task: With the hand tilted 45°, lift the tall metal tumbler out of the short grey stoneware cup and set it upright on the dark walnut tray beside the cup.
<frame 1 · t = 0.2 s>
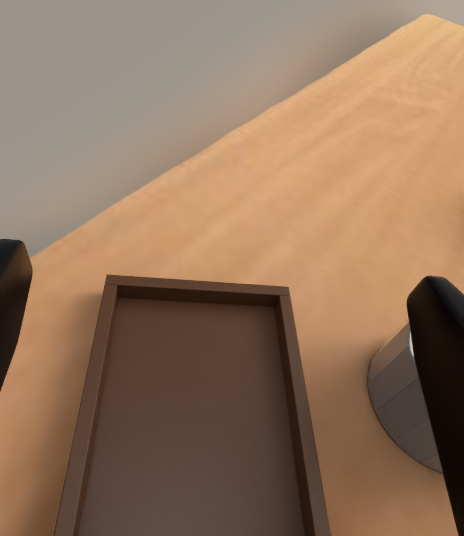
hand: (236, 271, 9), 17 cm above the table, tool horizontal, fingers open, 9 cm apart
cup: (433, 400, 26), on the table
tray: (196, 411, 23), on the table
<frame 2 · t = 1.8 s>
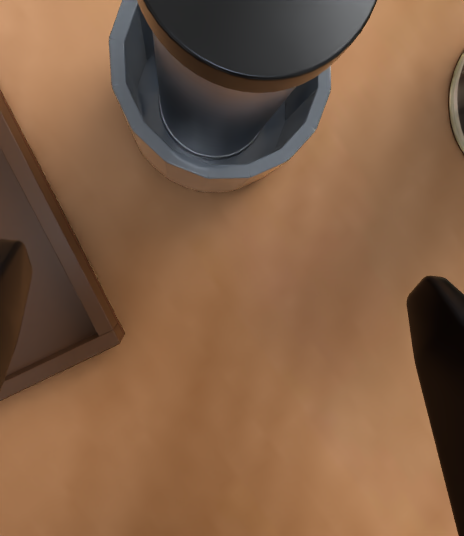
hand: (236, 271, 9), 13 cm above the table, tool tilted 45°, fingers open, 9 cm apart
metal tumbler: (213, 105, 21), resting on cup
cup: (212, 108, 21), on the table
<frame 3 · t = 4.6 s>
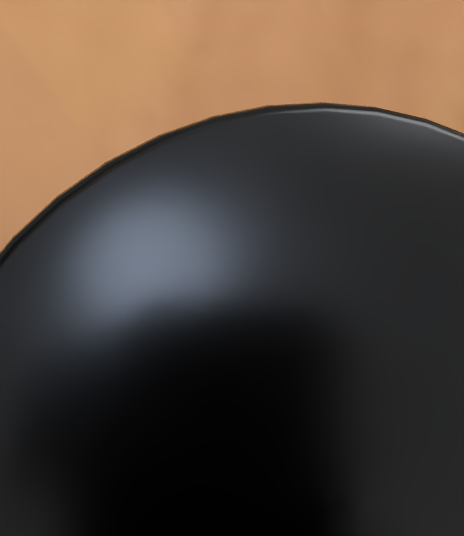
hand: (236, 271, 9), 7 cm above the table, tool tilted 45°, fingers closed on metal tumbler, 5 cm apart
metal tumbler: (207, 291, 15), resting on cup, touching gripper
when the fingers open (7 cm above the table, at t = 12.3 s): metal tumbler stays where it is, resting on tray.
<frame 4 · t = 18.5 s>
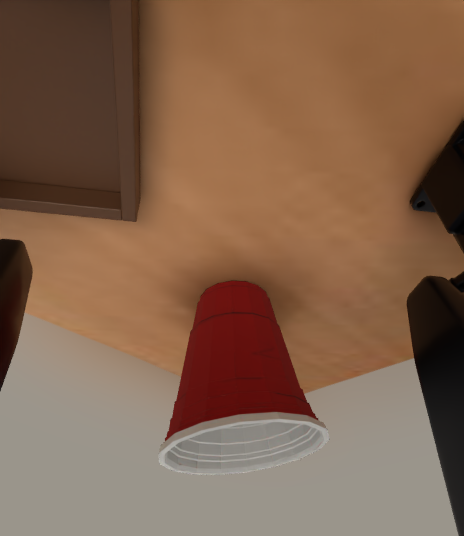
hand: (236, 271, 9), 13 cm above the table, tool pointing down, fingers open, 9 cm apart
plastic cup: (236, 299, 32), on the table
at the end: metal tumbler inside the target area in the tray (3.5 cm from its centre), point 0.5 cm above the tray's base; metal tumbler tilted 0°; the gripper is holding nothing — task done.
